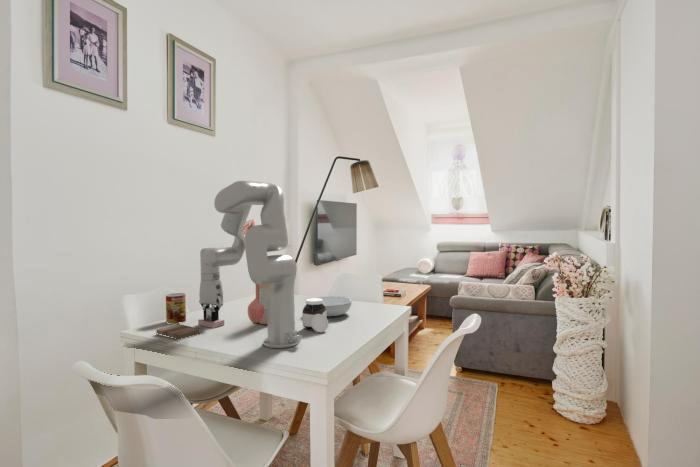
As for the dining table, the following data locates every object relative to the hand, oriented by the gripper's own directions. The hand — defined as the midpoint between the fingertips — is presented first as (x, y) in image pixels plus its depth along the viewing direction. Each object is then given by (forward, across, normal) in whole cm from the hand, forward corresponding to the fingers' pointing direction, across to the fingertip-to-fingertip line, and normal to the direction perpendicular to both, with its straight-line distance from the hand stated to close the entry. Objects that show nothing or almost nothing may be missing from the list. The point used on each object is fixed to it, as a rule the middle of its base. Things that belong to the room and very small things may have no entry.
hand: (211, 319), depth 164 cm
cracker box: (+3, -18, -18) cm, 26 cm away
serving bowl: (+3, -33, -40) cm, 52 cm away
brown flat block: (+2, 0, +16) cm, 16 cm away
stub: (+2, 0, 0) cm, 2 cm away
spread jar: (+3, -43, -17) cm, 46 cm away
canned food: (+3, +19, +4) cm, 20 cm away
